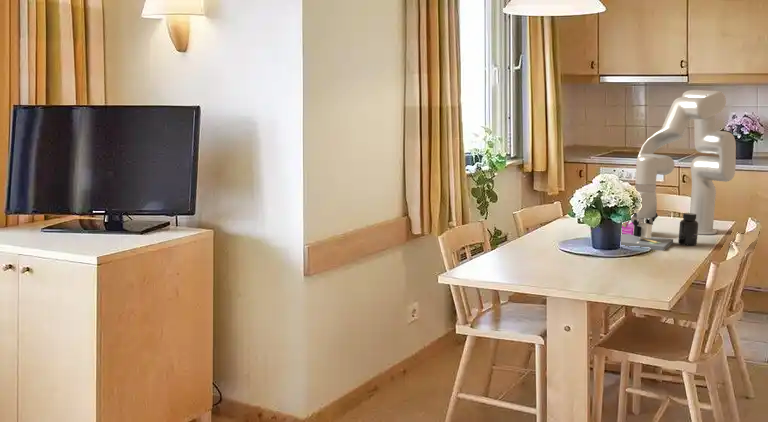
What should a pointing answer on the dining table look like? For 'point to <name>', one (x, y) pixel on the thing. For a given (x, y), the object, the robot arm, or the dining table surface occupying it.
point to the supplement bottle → (688, 230)
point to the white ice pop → (646, 231)
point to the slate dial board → (646, 242)
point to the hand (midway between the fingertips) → (642, 235)
